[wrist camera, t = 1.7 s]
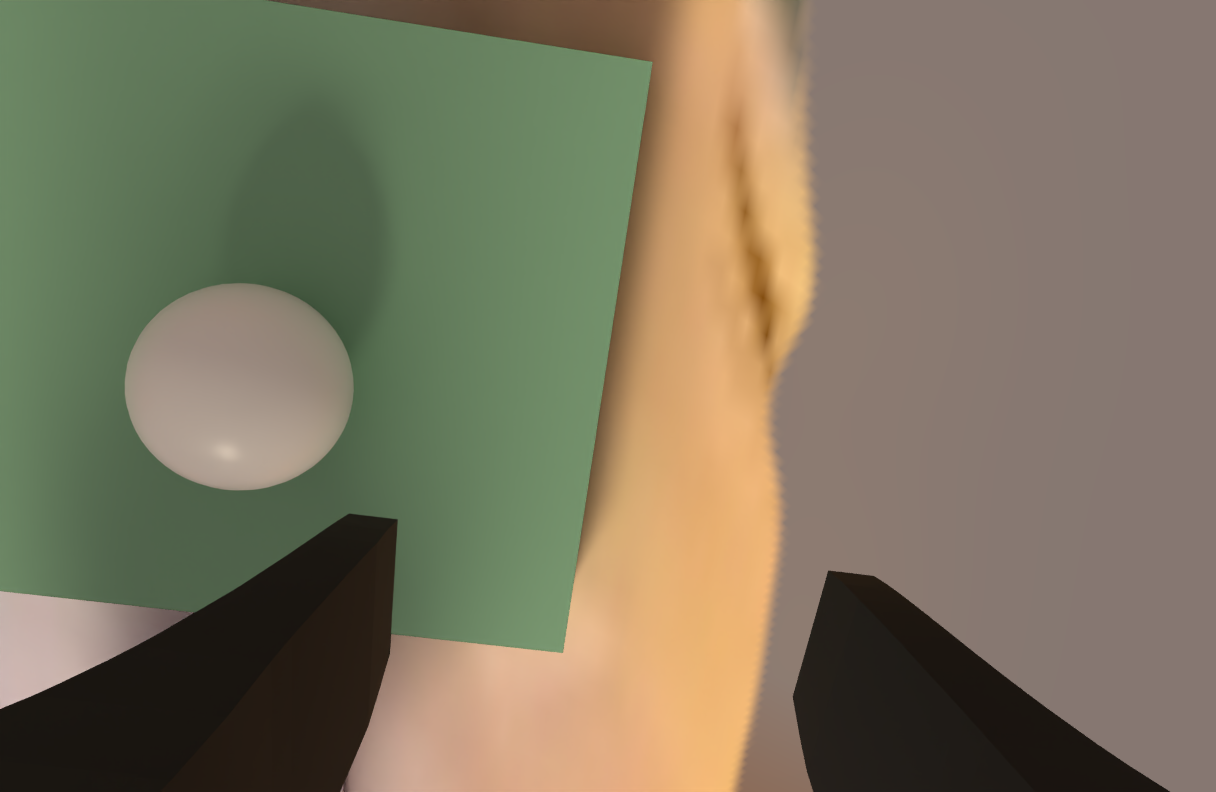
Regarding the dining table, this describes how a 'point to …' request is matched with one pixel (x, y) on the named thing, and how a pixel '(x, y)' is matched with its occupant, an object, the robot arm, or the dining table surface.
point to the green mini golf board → (312, 292)
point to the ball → (239, 386)
